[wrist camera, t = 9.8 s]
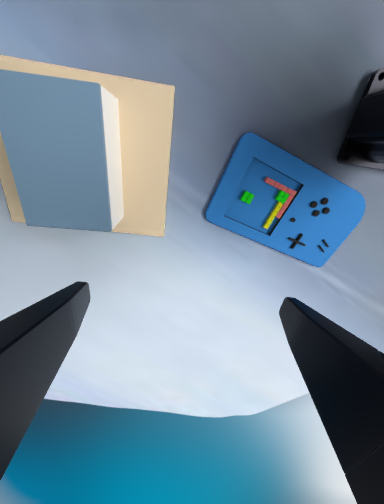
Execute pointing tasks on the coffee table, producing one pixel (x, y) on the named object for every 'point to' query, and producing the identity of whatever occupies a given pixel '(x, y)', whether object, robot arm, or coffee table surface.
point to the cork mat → (131, 143)
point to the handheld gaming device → (284, 202)
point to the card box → (63, 150)
